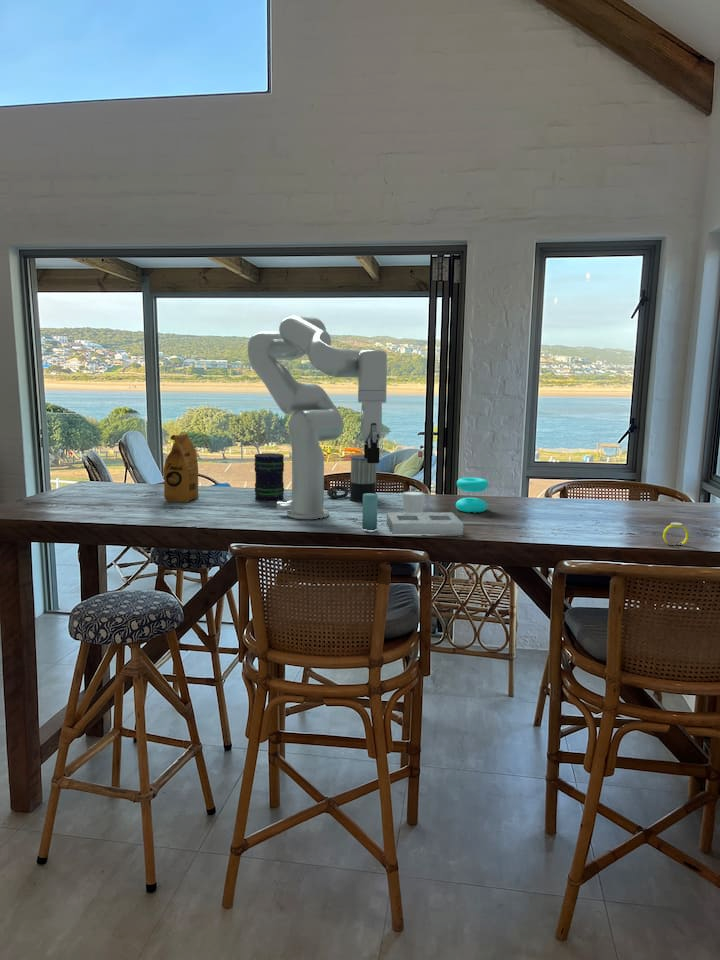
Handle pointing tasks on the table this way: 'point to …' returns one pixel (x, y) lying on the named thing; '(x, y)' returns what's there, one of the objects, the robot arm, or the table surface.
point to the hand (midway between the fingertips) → (371, 460)
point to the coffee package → (181, 471)
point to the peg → (369, 511)
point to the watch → (675, 526)
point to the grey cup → (413, 501)
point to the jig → (424, 523)
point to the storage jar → (269, 477)
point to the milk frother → (358, 480)
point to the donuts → (472, 486)
